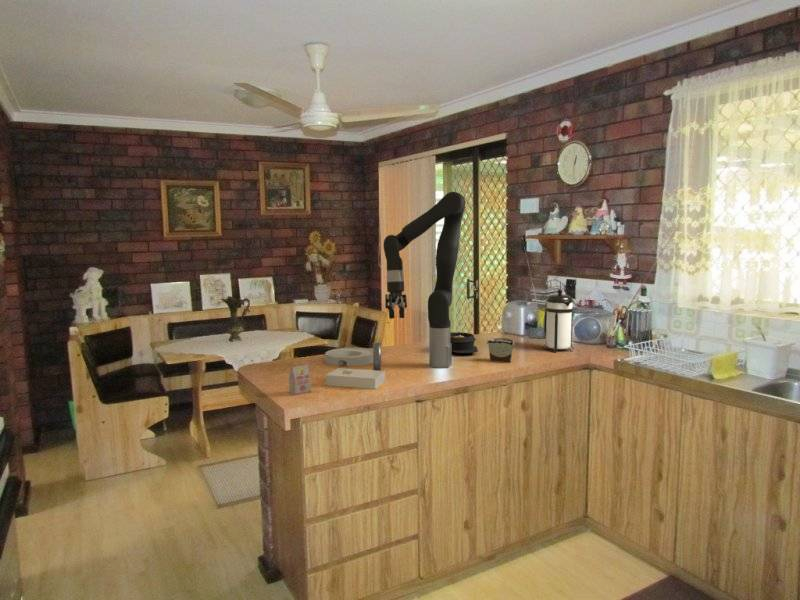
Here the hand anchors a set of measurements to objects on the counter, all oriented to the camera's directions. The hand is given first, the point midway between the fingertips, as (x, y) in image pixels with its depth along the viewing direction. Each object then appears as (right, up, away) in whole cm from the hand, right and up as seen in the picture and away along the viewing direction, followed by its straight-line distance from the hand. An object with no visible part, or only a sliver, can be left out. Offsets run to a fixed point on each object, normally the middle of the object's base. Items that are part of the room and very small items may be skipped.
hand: (397, 318), depth 248 cm
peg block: (-16, -24, -26) cm, 39 cm away
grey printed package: (-35, -26, -39) cm, 59 cm away
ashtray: (-21, -20, +14) cm, 33 cm away
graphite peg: (-8, -23, -17) cm, 30 cm away
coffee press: (+79, -17, +35) cm, 88 cm away
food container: (+48, -20, +11) cm, 53 cm away
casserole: (+30, -18, +32) cm, 47 cm away
